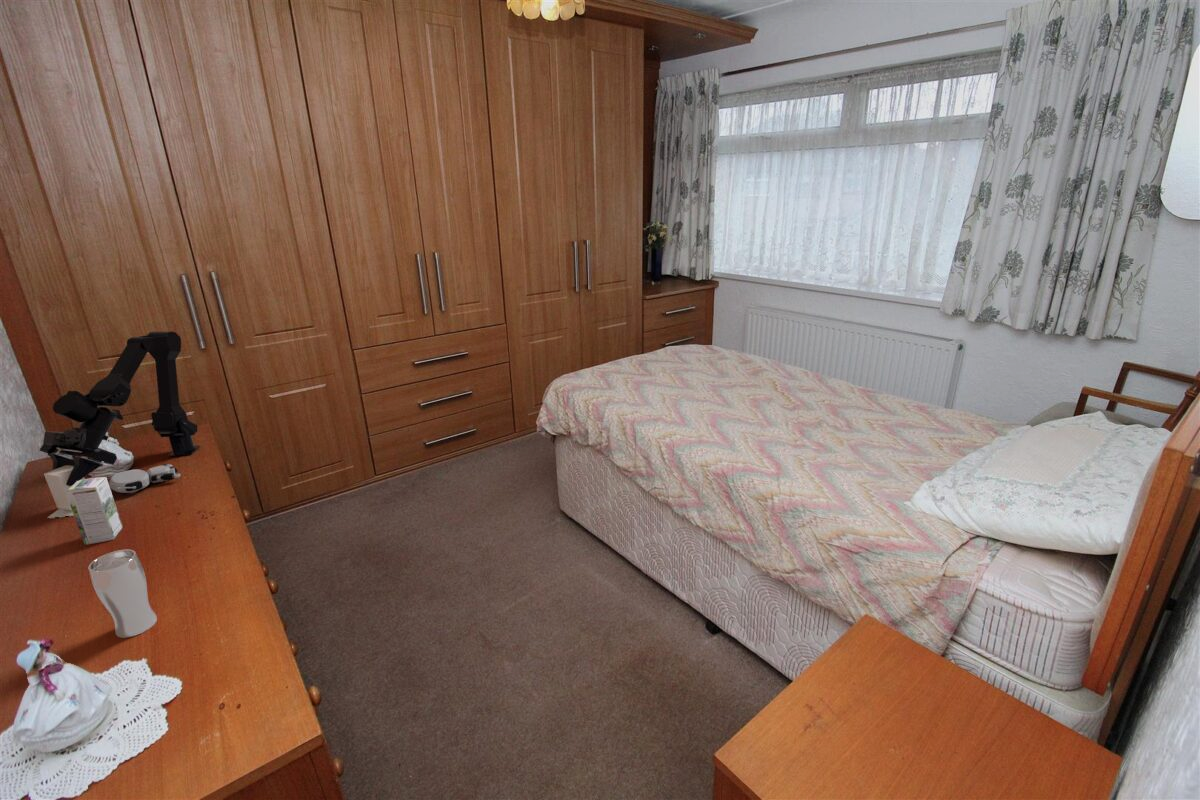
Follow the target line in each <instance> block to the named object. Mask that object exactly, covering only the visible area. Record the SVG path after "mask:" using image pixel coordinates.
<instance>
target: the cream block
mask: <svg viewBox="0 0 1200 800" xmlns="http://www.w3.org/2000/svg"><path fill="white" fill-rule="evenodd" d="M73 467H74V466H69V465H65V466H63V467H60V468H57V469H55V470H53V469H52V470H50V471H48V472H45V473H43V475H44V477H45V481H46V483H47V485H48V488H49V490H50V493H51V496H52V498H53V500H54V503H55V505H56V507H57V509H60V508H61V509H67V510H72V509H71V506H70V503H69V500H68V497H67V495H66V491H67V490H68V489H69V488H70V487H72V486H73V485H72V486H68V485H66V483H67V481H68V478H69V476H70V474H71V472H72V470H73ZM84 479H86V478H85V477H83V478H82V479H81V480H84Z"/></svg>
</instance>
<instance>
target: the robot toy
mask: <svg viewBox="0 0 1200 800" xmlns="http://www.w3.org/2000/svg"><path fill="white" fill-rule="evenodd" d="M177 472H178V469H177V468H176V467H175V466H173V464H170V463H168V464H161V465H157V466H153V467H151V468H148V469H147V471H146V470H142V469H140V468H139V469H129V470H124V471H121V472H117V473H109V474H108V476H110V479H109V487H110V490H113V491H114V492H118V493H127V494H134V493H137V492H139V491H140V490H144V488H146V487H148V486H149V485H150V483H153V484H155V483H164V482H163V481H165V482H168V481H174V480H175V479H179V478H180V477H181V473H177Z"/></svg>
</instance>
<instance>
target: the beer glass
mask: <svg viewBox="0 0 1200 800" xmlns="http://www.w3.org/2000/svg"><path fill="white" fill-rule="evenodd" d="M87 569H88V571H89V576H90V579H91V580H90V581H91V583H92V586H93V588H94V591H95V594H96V595H97V598H98V599H99V601H100V602H101V603H102V604H103V606H104V607H105V608H106V610H107V611H108V613H109V614H110V615H111V617H112V619H113V623H114V629H115V631H114V632H115V635H116V637H118V638H121V639H127V638H132V637H136V636H138V635H140V634H141V635H142V634H143V633H145V632H147V631H148V630H149V629H151V628H153V626H154V625H155V624H156V623H157V620H158V617H157V614H156V613H155V612H154V611H153V609H152V606H151V605H150V602H149V597H148V584H147V579H146V574H145V570H144V567H143V565H142V563H141V561H140V559H139V557H138V555H137V553H136V551H135V550H133V549H129V548H126V549H120V550H119V549H118V550H114V551H112V552H111V551H110V552H108V553H106V554H103V555H101V556H99V557H97V558H95V559H94V560H93V561H91V562H90V564H89V565H88V568H87Z"/></svg>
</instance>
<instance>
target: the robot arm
mask: <svg viewBox="0 0 1200 800" xmlns="http://www.w3.org/2000/svg"><path fill="white" fill-rule="evenodd" d="M181 351H182V338H181V336H180V335H179V334H178V333H177V332H175V331H172V330H169V331H168V330H167V331H166V330H165V331H164V330H163V331H162V330H161V331H160V330H159V331H157V330H154V331H150V332H149V333H148V334H147V335H139V336H132V337H130V338H128V339H127V340H126V346H125V348H124V349H123V350H122V353H121V354H120V356H118V358H117V360H116V362H115V364H114V366H113V367H112V369H111V371H110V372H109V374H108V375H107V376H105V377H104V378H102V379H100V380H99V381H97V382H96V384H94V386H93V387H92V388H91V389H90V390H89V392H88V393H85V394H82V393H81V392H79V391H77V390H68V391H67V392H66V394H64V395H62V396H60V397H59V398H58V399H57V400H56V401H54V403H53V405H52V411H53V413H55V414H57V415H60V416H62V417H64V418H67V419H68V420H72V421H73V422H76V423H80V424H79V426H78V427H73V428H71V429H65V430H64V431H47V430H45V431H44V435H43V440H42V441H43V442H42V445H41V447H40V448H39V452H43V453H44V454H45V453H46V454H47V455H48V456H49V458H51V460H52V470H55V469H57V468H60V467H63V466H65V465H69V466H74V467H73V470H72V472H71V474H70V476H69V478H68V481H67V483H66V485H68V486H72V485H74V484H75V483H76V482H77V481H79V480H81V479H82V478H83V477H84V478H85V477H86V476H88V475H89V474H91V472H94V471H96V470H97V469H99V468H100V467H103V466H104V464H106V465H115V463H116V461H117V460H118V457H117V454H116V453H114V452H111V451H108V450H106V449H102V448H99V447H100V445H101V444H102V442H103V441H108V440H109V436H107V433H108V431H109V429H110V428H111V426H112V425H113V423H114V421H115V420H119V421H122V420H124V416H123V415H122V412H121V410H119V409H115V408H116V407H121V406H125V405H126V404H127V402H128V400H129V398H130V395H131V392H132V386H131V382H132V379H133V378H134V376H135V375H136V373H137V371H138V369H139V368H140V366H141V364H142V363H143V361H144V359H145V358H146V355H147V354H148V353H149V355H150V356H151V358H152V359H153V360H154V361H155V362H154V363H155V364H154V365H155V375H156V385H157V396H158V408H157V409H156V411H154V412H153V411H152V412H151V415H150V416H151V426H153V429H154V431H156V432H157V433H158V435H159V436H160V437H161V438H168V440H169V444H170V448H171V450H172V452H170V453H169V454H168V457H169V456H171V457H177V456H176V455H183V456H190V454H191V455H192V453H193V452H194V453H195V452H196V451H197V450H199V449H200V448H201V445H195V443H194V441H193V440H194V439H193V436H195V435H196V433H198V424H196V423H193V422H191V421H190V420H189V419H188V415H187V413H186V411H185V410H184V409H183V407H182V406H181V405H180V398H179V386H178V376H177V365H176V363H177V362H176V359H178V356H179V355H180V354H181ZM108 407H115V408H114V409H110V408H108ZM194 453H193V454H194ZM174 455H175V456H174ZM102 462H103V463H104V464H102Z"/></svg>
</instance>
